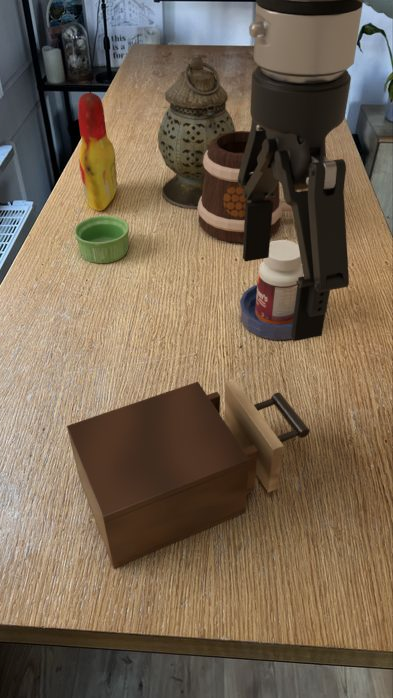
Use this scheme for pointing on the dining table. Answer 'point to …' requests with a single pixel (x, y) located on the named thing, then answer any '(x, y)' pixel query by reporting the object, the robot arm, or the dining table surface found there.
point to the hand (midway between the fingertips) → (278, 294)
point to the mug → (229, 190)
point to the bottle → (96, 154)
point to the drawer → (258, 432)
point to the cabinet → (159, 471)
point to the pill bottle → (278, 283)
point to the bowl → (254, 324)
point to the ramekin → (102, 238)
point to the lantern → (191, 130)
